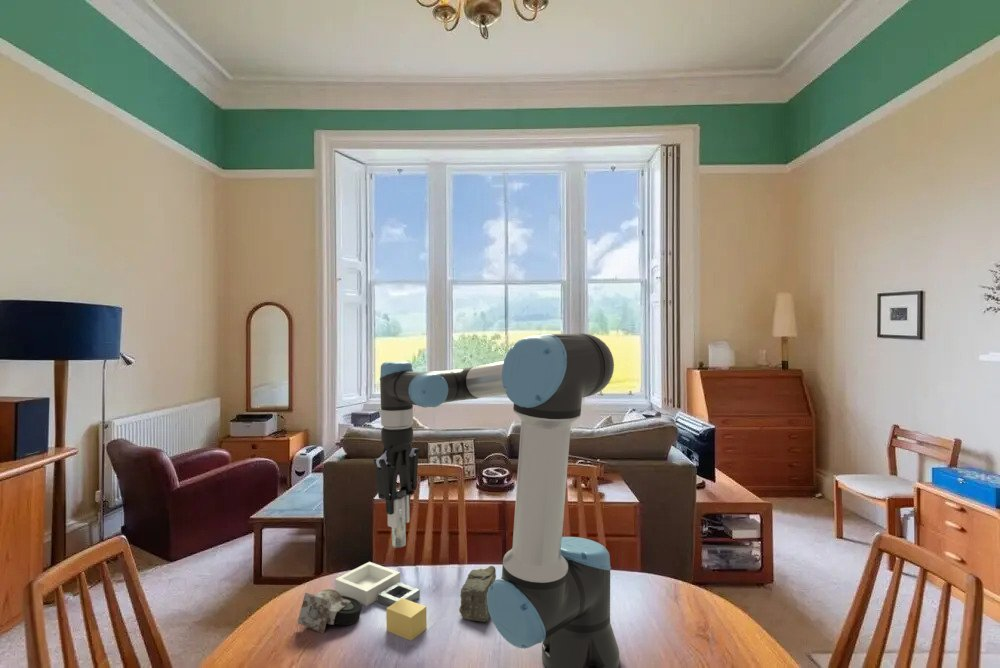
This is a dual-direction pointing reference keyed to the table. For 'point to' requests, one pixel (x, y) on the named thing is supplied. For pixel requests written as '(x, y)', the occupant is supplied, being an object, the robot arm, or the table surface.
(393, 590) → the pin socket
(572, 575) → the robot arm
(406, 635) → the block
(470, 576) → the rock
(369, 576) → the tray
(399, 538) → the pin
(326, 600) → the caster wheel
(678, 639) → the table surface
